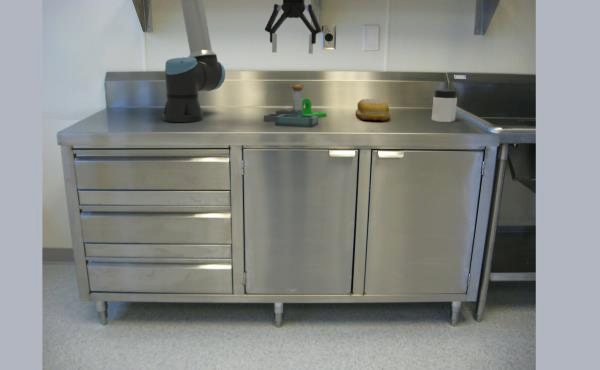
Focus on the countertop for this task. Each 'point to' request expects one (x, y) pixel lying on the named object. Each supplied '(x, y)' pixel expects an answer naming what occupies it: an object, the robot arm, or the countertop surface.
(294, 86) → the pin
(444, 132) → the countertop surface
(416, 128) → the countertop surface
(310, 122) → the tray
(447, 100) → the jar
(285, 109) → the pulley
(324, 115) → the mechanical part
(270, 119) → the grey metal square frame
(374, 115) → the bread
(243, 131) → the countertop surface
